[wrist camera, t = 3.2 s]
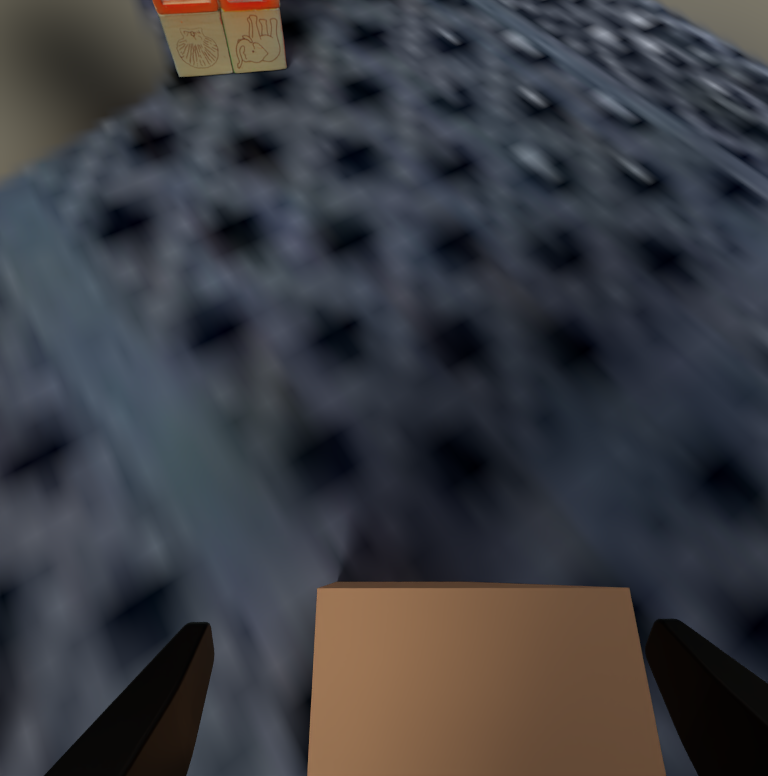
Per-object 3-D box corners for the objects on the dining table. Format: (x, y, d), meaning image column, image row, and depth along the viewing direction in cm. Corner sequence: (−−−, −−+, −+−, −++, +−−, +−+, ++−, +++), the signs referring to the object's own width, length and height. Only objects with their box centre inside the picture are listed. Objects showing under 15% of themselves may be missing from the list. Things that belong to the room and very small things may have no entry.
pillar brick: (476, 738, 14) (720, 1052, 5) (330, 742, 14) (291, 1084, 4) (465, 581, 16) (629, 587, 6) (336, 581, 15) (317, 587, 6)
